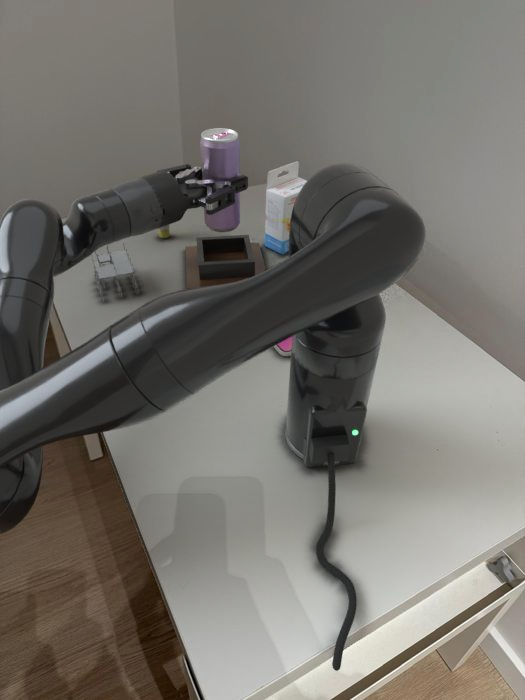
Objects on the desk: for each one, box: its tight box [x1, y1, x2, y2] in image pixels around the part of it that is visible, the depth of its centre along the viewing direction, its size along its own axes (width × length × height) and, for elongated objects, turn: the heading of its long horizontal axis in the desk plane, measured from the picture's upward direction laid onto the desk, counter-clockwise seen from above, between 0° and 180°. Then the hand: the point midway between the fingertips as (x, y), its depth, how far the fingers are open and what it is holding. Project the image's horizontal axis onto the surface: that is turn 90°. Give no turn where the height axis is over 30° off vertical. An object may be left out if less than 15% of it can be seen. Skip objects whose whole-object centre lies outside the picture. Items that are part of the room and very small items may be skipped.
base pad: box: [184, 234, 267, 289], centre depth 92 cm, size 14×14×4 cm
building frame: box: [90, 241, 140, 302], centre depth 87 cm, size 6×8×6 cm
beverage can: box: [199, 127, 241, 233], centre depth 83 cm, size 6×6×15 cm
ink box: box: [264, 160, 308, 256], centre depth 96 cm, size 8×5×15 cm, turn 134°
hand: (233, 175), depth 83 cm, fingers closed on beverage can, 6 cm apart
